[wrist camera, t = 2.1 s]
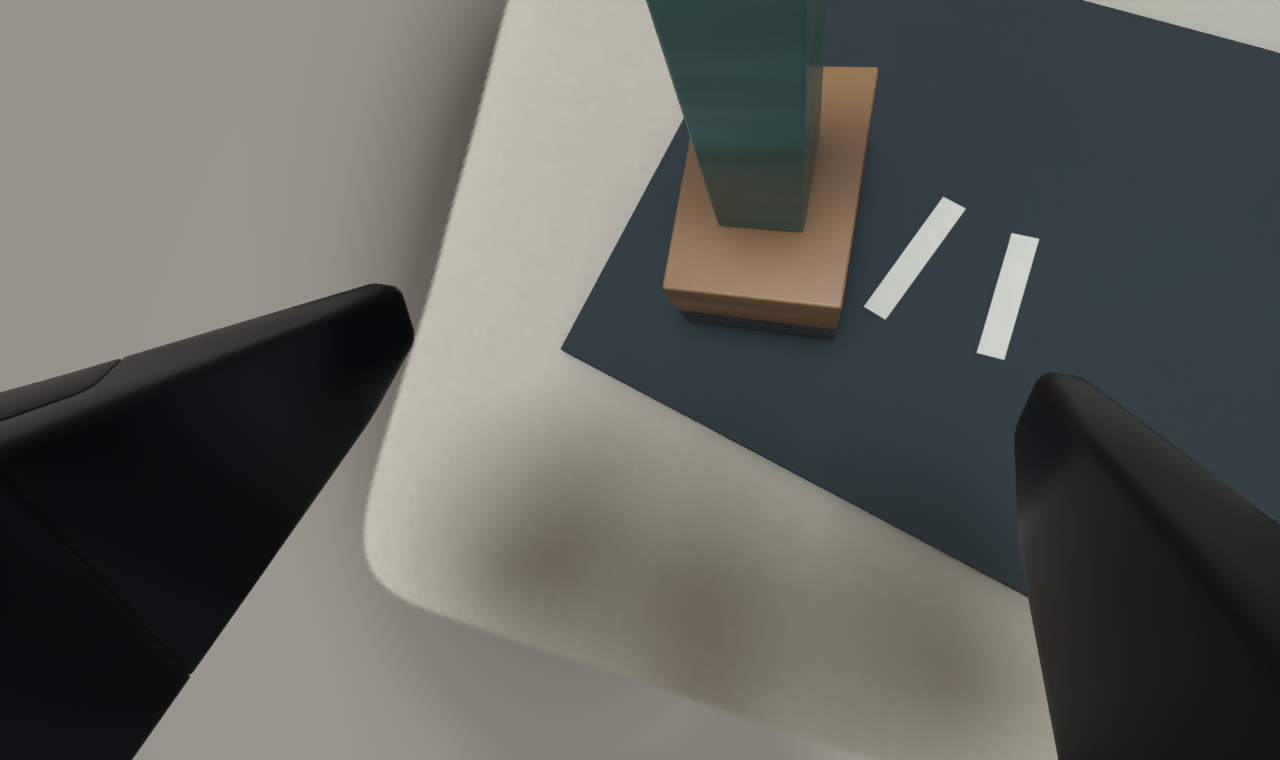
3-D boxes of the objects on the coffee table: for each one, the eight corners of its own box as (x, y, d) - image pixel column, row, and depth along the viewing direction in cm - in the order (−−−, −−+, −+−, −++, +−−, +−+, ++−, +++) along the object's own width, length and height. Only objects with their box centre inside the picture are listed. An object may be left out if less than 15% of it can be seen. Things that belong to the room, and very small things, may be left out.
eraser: (833, 340, 20) (887, 127, 8) (685, 321, 22) (533, 114, 9) (864, 140, 21) (957, -340, 9) (719, 134, 23) (620, -291, 10)
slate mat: (1220, 698, 17) (1231, 704, 17) (563, 351, 23) (559, 348, 23) (1508, 124, 18) (1526, 116, 17) (788, -70, 24) (788, -81, 23)
